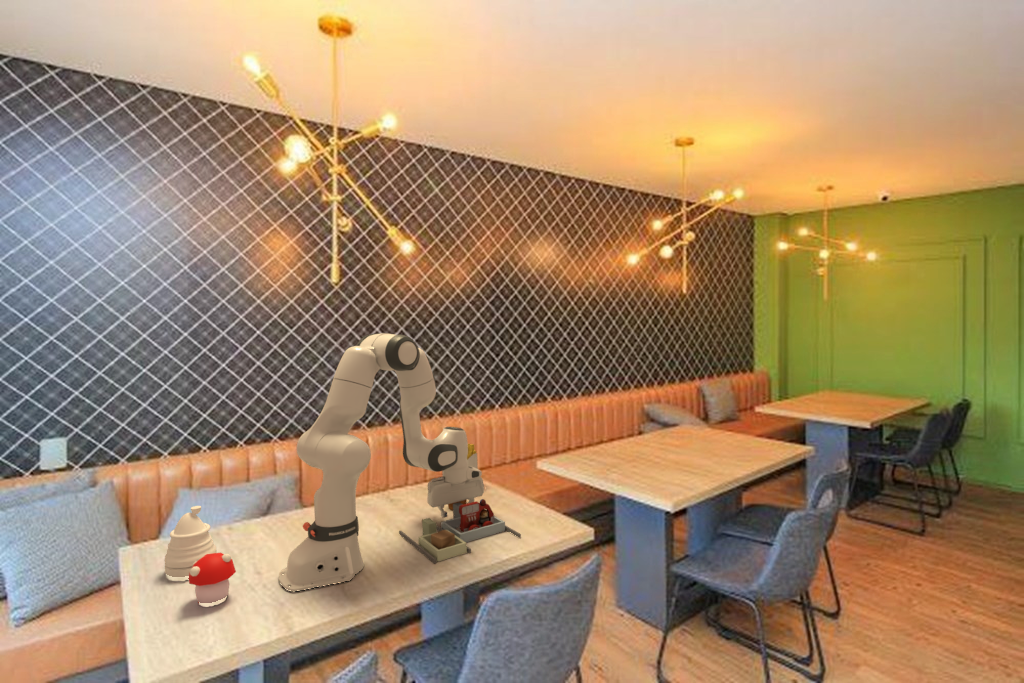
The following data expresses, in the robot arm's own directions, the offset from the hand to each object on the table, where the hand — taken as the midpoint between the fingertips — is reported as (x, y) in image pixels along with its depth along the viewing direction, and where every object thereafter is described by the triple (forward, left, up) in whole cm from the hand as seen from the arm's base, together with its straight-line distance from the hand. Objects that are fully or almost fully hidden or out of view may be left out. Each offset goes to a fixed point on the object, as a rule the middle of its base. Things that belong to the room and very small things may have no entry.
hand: (456, 513), depth 193 cm
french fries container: (+19, +28, -2) cm, 34 cm away
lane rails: (-6, -12, -2) cm, 14 cm away
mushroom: (-75, -9, -2) cm, 76 cm away
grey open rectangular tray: (0, -9, -2) cm, 9 cm away
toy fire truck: (0, -13, -3) cm, 13 cm away
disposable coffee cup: (+6, +11, -2) cm, 13 cm away
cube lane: (-15, -15, -2) cm, 21 cm away
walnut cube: (-15, -18, -2) cm, 23 cm away
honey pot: (-78, +13, -3) cm, 79 cm away
